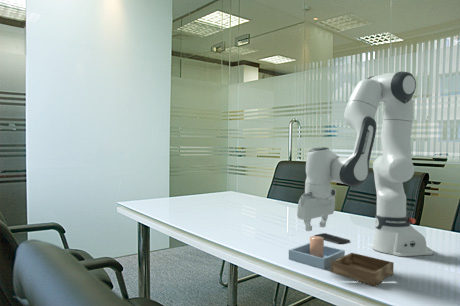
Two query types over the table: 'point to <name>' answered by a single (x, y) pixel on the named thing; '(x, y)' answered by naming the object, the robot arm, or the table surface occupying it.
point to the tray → (362, 268)
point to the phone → (333, 238)
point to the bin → (304, 256)
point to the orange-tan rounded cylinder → (317, 246)
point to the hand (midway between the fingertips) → (315, 228)
